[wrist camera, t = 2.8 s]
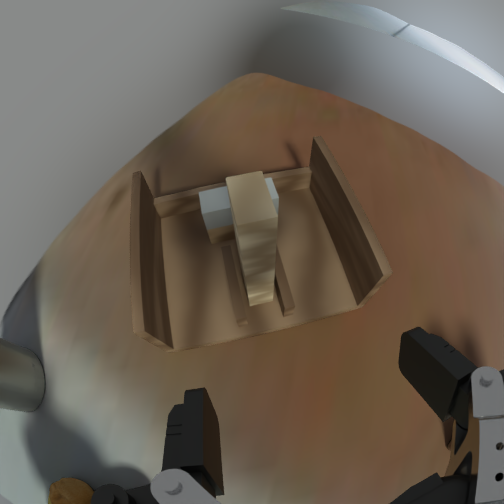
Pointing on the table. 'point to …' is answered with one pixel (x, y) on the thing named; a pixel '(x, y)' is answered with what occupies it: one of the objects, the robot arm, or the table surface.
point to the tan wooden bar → (254, 233)
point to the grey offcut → (225, 205)
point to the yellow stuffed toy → (70, 492)
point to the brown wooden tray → (229, 269)
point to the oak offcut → (222, 234)
